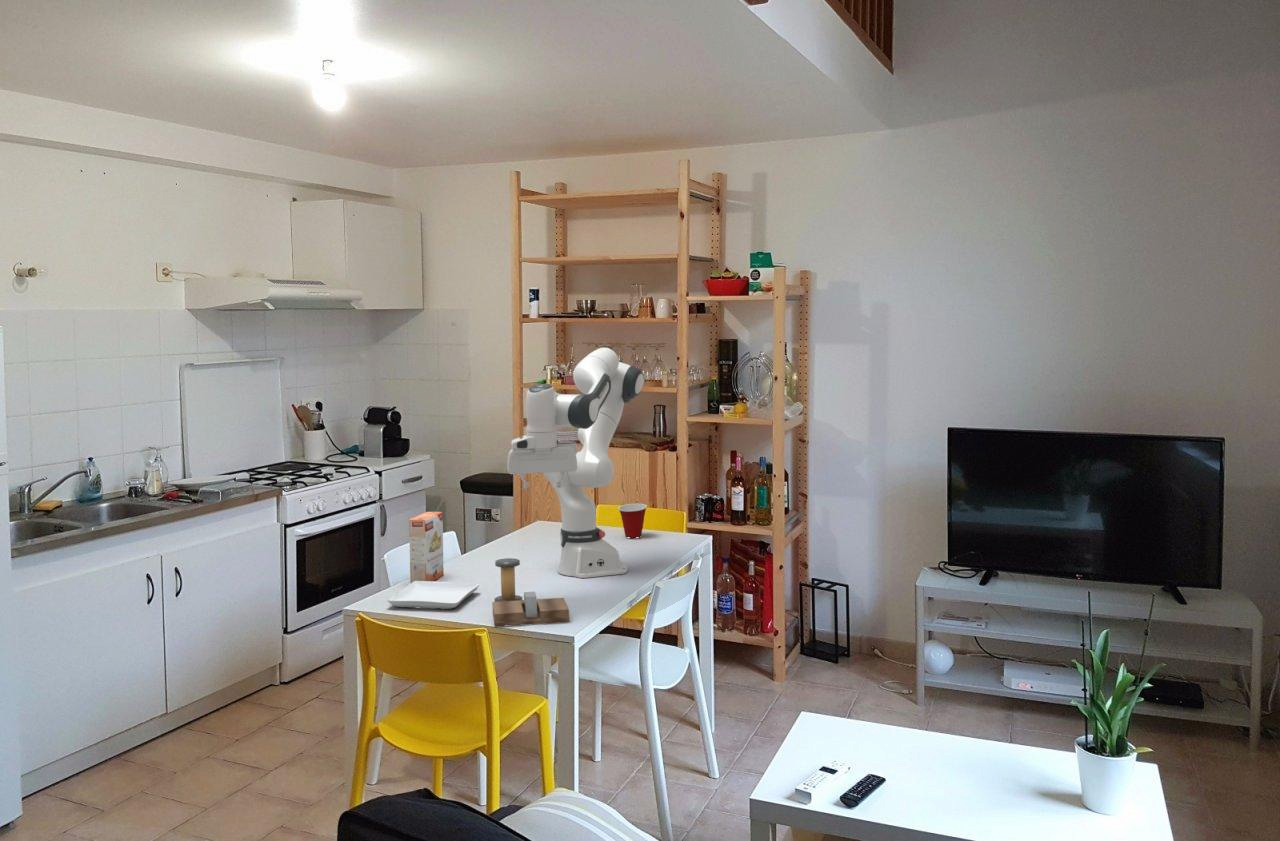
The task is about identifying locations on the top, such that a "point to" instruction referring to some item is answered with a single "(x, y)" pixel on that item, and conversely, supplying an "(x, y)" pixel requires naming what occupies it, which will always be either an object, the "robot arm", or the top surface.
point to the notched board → (515, 614)
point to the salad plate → (432, 594)
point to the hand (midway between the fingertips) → (543, 488)
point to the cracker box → (426, 546)
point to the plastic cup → (633, 519)
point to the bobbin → (507, 579)
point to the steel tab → (530, 604)
